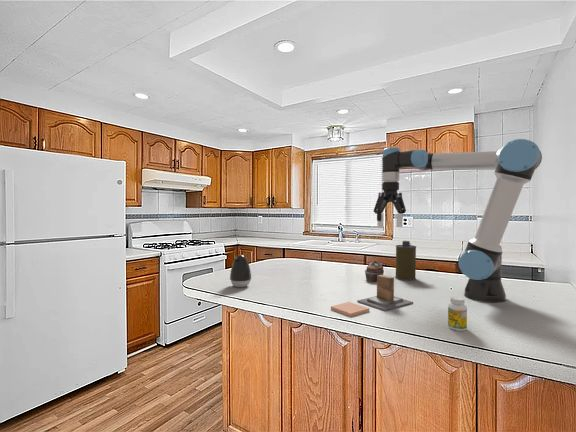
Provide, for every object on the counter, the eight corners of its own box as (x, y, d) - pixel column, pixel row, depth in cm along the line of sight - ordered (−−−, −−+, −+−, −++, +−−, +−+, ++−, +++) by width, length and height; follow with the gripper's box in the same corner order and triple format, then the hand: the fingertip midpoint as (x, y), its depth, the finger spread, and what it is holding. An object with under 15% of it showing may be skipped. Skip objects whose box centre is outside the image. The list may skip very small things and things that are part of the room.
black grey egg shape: (225, 287, 157) (225, 255, 156) (237, 282, 166) (236, 252, 166) (244, 289, 153) (244, 257, 152) (255, 284, 163) (254, 254, 162)
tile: (369, 308, 122) (350, 313, 116) (369, 312, 122) (350, 318, 116) (349, 301, 130) (330, 306, 124) (349, 305, 130) (330, 310, 124)
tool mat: (413, 303, 132) (413, 301, 132) (385, 311, 123) (385, 309, 123) (384, 295, 144) (384, 294, 144) (357, 301, 134) (357, 300, 134)
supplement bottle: (470, 329, 105) (471, 299, 104) (458, 332, 102) (459, 301, 102) (455, 324, 109) (456, 295, 109) (444, 326, 107) (444, 297, 107)
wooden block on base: (386, 296, 140) (387, 273, 139) (402, 301, 133) (403, 276, 133) (367, 301, 133) (367, 276, 133) (383, 306, 126) (383, 280, 126)
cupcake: (368, 277, 179) (368, 259, 179) (386, 280, 173) (386, 261, 173) (361, 280, 171) (361, 261, 171) (379, 283, 166) (380, 263, 165)
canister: (413, 281, 170) (414, 242, 169) (393, 278, 176) (393, 241, 175) (417, 277, 179) (418, 240, 179) (398, 275, 185) (398, 239, 184)
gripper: (400, 183, 163) (400, 226, 164) (365, 181, 149) (365, 228, 150) (414, 182, 157) (413, 227, 158) (379, 180, 143) (378, 229, 143)
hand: (390, 227), depth 154 cm, fingers open, 13 cm apart
